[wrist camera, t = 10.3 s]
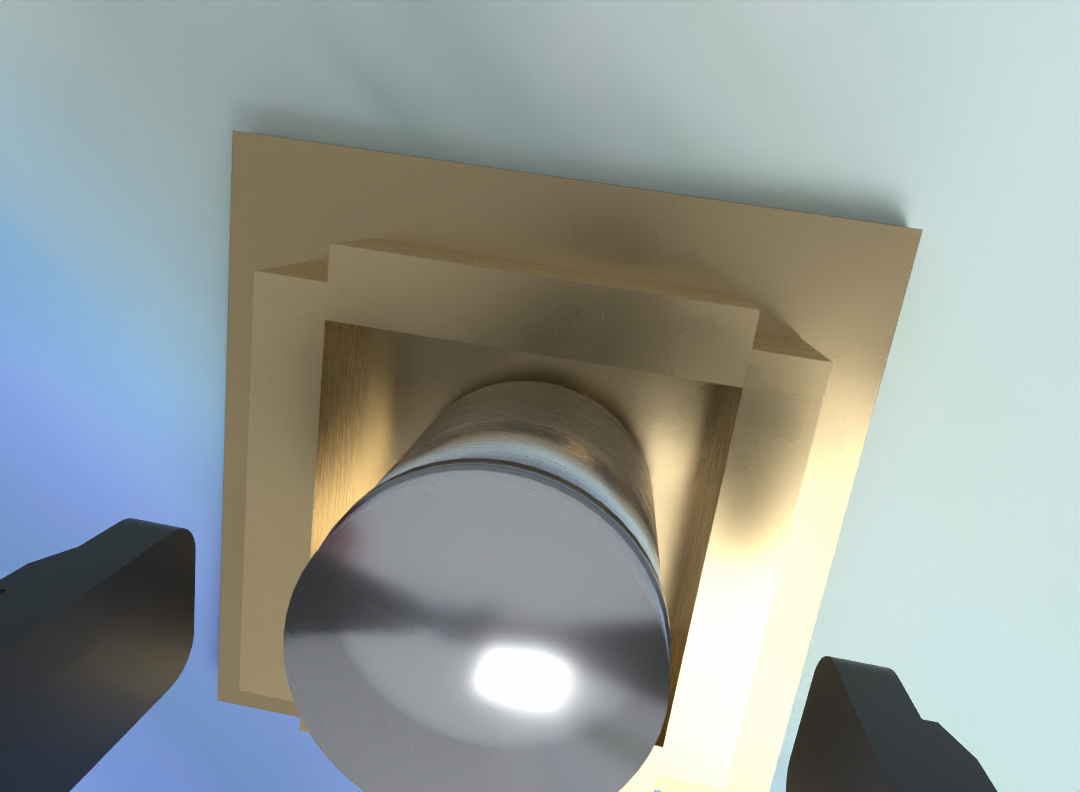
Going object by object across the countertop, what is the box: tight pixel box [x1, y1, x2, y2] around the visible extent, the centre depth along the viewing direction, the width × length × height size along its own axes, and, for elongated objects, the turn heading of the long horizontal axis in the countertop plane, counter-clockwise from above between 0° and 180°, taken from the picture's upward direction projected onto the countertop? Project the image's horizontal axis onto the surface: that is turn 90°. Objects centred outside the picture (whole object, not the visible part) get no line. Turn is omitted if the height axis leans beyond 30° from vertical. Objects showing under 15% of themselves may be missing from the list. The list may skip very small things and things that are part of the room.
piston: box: [283, 381, 671, 792], centre depth 12 cm, size 5×5×5 cm
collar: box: [218, 131, 922, 792], centre depth 13 cm, size 12×12×3 cm
